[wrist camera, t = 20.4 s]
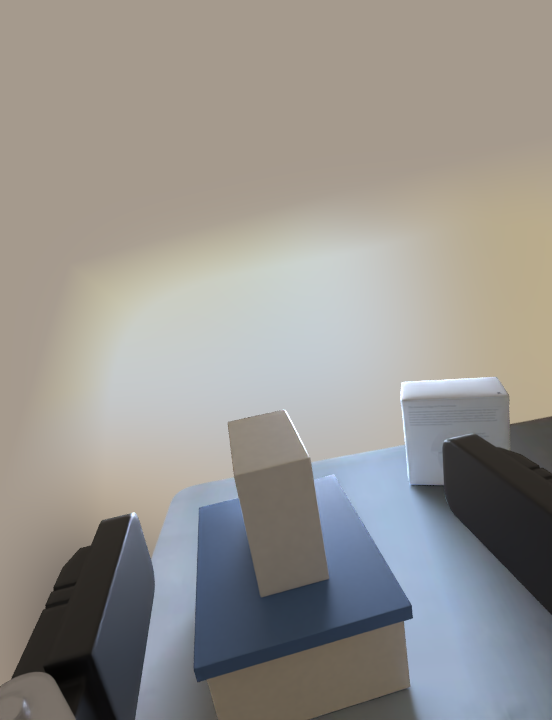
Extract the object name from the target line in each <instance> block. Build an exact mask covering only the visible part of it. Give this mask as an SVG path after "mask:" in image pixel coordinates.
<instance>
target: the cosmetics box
mask: <svg viewBox="0 0 552 720" xmlns="http://www.w3.org/2000/svg"><path fill="white" fill-rule="evenodd" d="M401 407H402V415H403V426H404V436H405V447H406V458H407V467H408V482H409V484H411V485H444V476H443V454H442V446H443V442H444V441H445V440H446V439H450V438H454V437H459V436H463V435H467V434H471V433H474V434H477V435H478V436H480V437H482V438H483V439H485V440H486V441H488V442H489V443H491V444H492V445H494V446H495V447H501V448H504V449H507V450H510V420H509V394H508V393H507V391H506V390H505V388H504V387H503V385H502V384H501V382H500V381H499V379H498V378H497V377H485V378H468V379H450V380H432V381H414V382H413V381H412V382H402V384H401Z"/></svg>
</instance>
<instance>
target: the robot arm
mask: <svg viewBox="0 0 552 720" xmlns="http://www.w3.org/2000/svg"><path fill="white" fill-rule="evenodd" d="M442 454H443V476H444V492H445V497H446V500H447V503H448V505H449V507H450V509H451V510H452V512H453V513H454V515H455V516H456V517H457V518H458V519H459V520H460V521H461V522H462V523H463V524H464V525H465V526H466V527H467V528H468V529H469V530H470V531H471V532H472V533H473V534H474V535H475V536H476V537H477V538H478V539H479V540H480V541H481V542H482V544H483V545H484V546H485V547H486V548H487V549H488V550H489V551H490V552H491V553H492V554H493V555H494V556H495V557H496V558H497V559H498V560H499V561H500V562H501V563H502V564H503V565H504V566H505V567H506V568H507V569H508V570H509V571H510V572H511V573H512V574H513V575H514V576H515V577H516V579H517V580H518V581H519V582H520V583H521V584H522V585H523V586H524V587H525V588H526V589H527V590H528V591H529V592H530V593H531V594H532V595H533V596H534V597H535V598H536V599H537V600H538V601H539V602H540V603H541V604H542V605H543V606H544V607H545V608H546V609H547V610H548V611H549V612H550V614H551V615H552V473H550V472H549V471H547V470H545V469H544V468H540V467H539V465H537V464H536V463H534V462H532V461H531V460H529V459H528V458H526V457H524V456H523V455H521V454H518V453H515V452H512V451H510V450H507V449H504V448H501V447H495V446H494V445H492V444H491V443H489V442H488V441H486V440H485V439H483V438H482V437H480V436H478V435H477V434H474V433H471V434H467V435H463V436H459V437H454V438H450V439H446V440H445V441H444V442H443V446H442ZM154 589H155V581H154V571H153V566H152V562H151V558H150V555H149V552H148V548H147V545H146V542H145V538H144V535H143V532H142V528H141V525H140V521H139V518H138V516H137V515H136V514H135V513H131V514H127V515H122V516H118V517H114V518H110V519H105V520H102V521H101V523H100V524H99V527H98V530H97V532H96V535H95V537H94V540H93V542H92V544H91V546H87V547H83V548H80V549H79V550H78V551H77V552H76V553H75V554H74V555H73V557H72V558H71V559H70V560H69V561H68V562H67V563H66V564H65V566H64V567H63V568H62V570H61V572H60V575H59V577H58V579H57V581H56V583H55V585H54V591H53V592H51V594H50V596H49V598H48V601H47V603H46V605H45V606H46V609H44V610H43V611H42V613H41V616H40V618H39V620H38V622H37V624H36V626H35V629H34V631H33V633H32V635H31V637H30V639H29V642H28V644H27V646H26V648H25V650H24V652H23V654H22V657H21V659H20V661H19V663H18V665H17V668H16V670H15V672H14V674H13V676H12V679H11V680H10V681H8V682H6V683H4V684H2V685H1V686H0V720H135V715H136V709H137V702H138V696H139V689H140V682H141V676H142V669H143V663H144V656H145V650H146V643H147V637H148V630H149V624H150V617H151V611H152V604H153V598H154Z"/></svg>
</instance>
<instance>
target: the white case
mask: <svg viewBox="0 0 552 720" xmlns="http://www.w3.org/2000/svg"><path fill="white" fill-rule="evenodd" d="M228 430H229V438H230V447H231V454H232V463H233V472H234V479H235V483H236V488H237V492H238V497H239V501H240V506H241V510H242V515H243V519H244V524H245V528H246V533H247V537H248V542H249V547H250V551H251V556H252V560H253V565H254V569H255V574H256V578H257V583H258V587H259V592H260V596H261V597H265V596H269V595H272V594H276V593H280V592H283V591H287V590H290V589H294V588H298V587H301V586H305V585H309V584H312V583H316V582H319V581H323V580H327V579H329V573H328V567H327V560H326V554H325V548H324V542H323V535H322V529H321V523H320V516H319V510H318V504H317V498H316V491H315V485H314V479H313V472H312V466H311V460H310V457H309V455H308V453H307V451H306V449H305V447H304V445H303V443H302V441H301V439H300V437H299V436H298V434H297V431H296V429H295V427H294V426H293V424H292V422H291V420H290V418H289V416H288V414H287V412H286V410H280V411H275V412H271V413H266V414H262V415H258V416H253V417H248V418H244V419H239V420H235V421H231V422H228Z"/></svg>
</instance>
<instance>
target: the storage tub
mask: <svg viewBox="0 0 552 720" xmlns="http://www.w3.org/2000/svg"><path fill="white" fill-rule="evenodd" d="M314 485H315V491H316V498H317V504H318V510H319V516H320V523H321V529H322V535H323V542H324V548H325V554H326V560H327V567H328V573H329V579H327V580H323V581H319V582H316V583H312V584H309V585H305V586H301V587H298V588H294V589H290V590H287V591H283V592H280V593H276V594H272V595H269V596H265V597H261V596H260V592H259V587H258V583H257V578H256V574H255V569H254V565H253V560H252V556H251V551H250V547H249V542H248V537H247V533H246V528H245V524H244V519H243V515H242V510H241V506H240V501H239V498H237V499H233V500H229V501H224V502H220V503H216V504H212V505H208V506H204V507H200V508H199V524H198V553H197V582H196V612H195V641H194V673H195V676H196V679H197V682H200V681H204V680H207V682H208V686H209V689H210V693H211V696H212V700H213V703H214V707H215V710H216V714H217V717H218V720H309V719H312V718H315V717H318V716H321V715H324V714H327V713H331V712H334V711H337V710H340V709H343V708H346V707H349V706H353V705H356V704H359V703H362V702H365V701H368V700H371V699H375V698H378V697H381V696H384V695H387V694H390V693H393V692H396V691H400V690H403V689H406V688H409V687H410V679H409V669H408V659H407V649H406V639H405V629H404V621H405V620H409V619H412V618H413V615H412V605H411V604H410V602H409V600H408V598H407V597H406V595H405V593H404V592H403V590H402V588H401V587H400V585H399V583H398V582H397V580H396V578H395V576H394V575H393V573H392V571H391V570H390V568H389V566H388V565H387V563H386V561H385V560H384V558H383V556H382V554H381V553H380V551H379V549H378V548H377V546H376V544H375V543H374V541H373V539H372V538H371V536H370V534H369V532H368V531H367V529H366V527H365V526H364V524H363V522H362V521H361V519H360V517H359V516H358V514H357V512H356V510H355V509H354V507H353V505H352V504H351V502H350V500H349V499H348V497H347V495H346V494H345V492H344V490H343V488H342V487H341V485H340V483H339V482H338V480H337V478H336V477H335V475H330V476H326V477H322V478H318V479H314Z"/></svg>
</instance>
